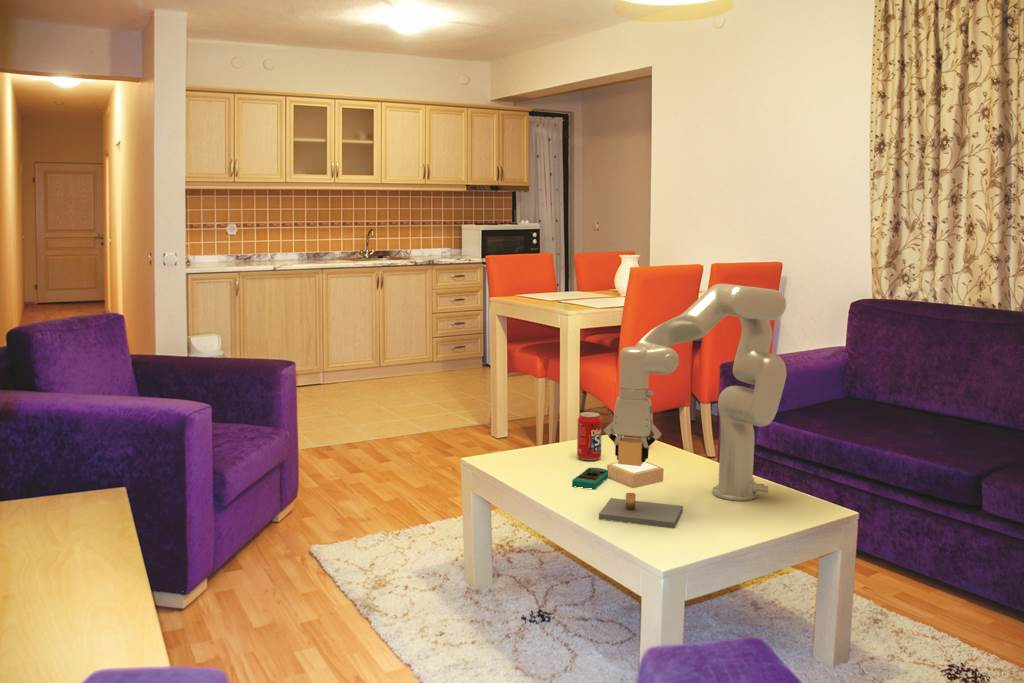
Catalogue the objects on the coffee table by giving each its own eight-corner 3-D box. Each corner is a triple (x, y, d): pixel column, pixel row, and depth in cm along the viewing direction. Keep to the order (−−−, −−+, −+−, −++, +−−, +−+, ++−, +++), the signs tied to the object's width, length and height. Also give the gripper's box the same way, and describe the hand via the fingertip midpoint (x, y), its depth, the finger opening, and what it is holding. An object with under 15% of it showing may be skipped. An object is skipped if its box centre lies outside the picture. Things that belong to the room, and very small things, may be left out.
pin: (636, 507, 245) (636, 493, 245) (634, 510, 243) (634, 496, 242) (626, 506, 246) (627, 492, 246) (624, 509, 244) (625, 495, 243)
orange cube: (644, 460, 244) (645, 438, 244) (640, 466, 239) (641, 444, 238) (622, 458, 246) (623, 436, 245) (618, 463, 241) (618, 442, 240)
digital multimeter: (610, 477, 279) (611, 468, 278) (594, 491, 265) (595, 481, 265) (588, 475, 282) (588, 465, 281) (571, 488, 268) (571, 478, 268)
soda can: (575, 455, 302) (575, 411, 300) (598, 455, 303) (599, 411, 300) (579, 462, 294) (580, 417, 292) (603, 461, 295) (604, 416, 293)
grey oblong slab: (682, 511, 247) (682, 505, 247) (674, 528, 234) (674, 522, 234) (610, 503, 254) (610, 497, 253) (598, 519, 241) (598, 513, 240)
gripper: (668, 393, 241) (666, 459, 243) (604, 388, 246) (603, 453, 249) (663, 399, 234) (661, 466, 236) (598, 394, 239) (596, 460, 242)
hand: (631, 459), depth 243 cm, fingers closed on orange cube, 5 cm apart
